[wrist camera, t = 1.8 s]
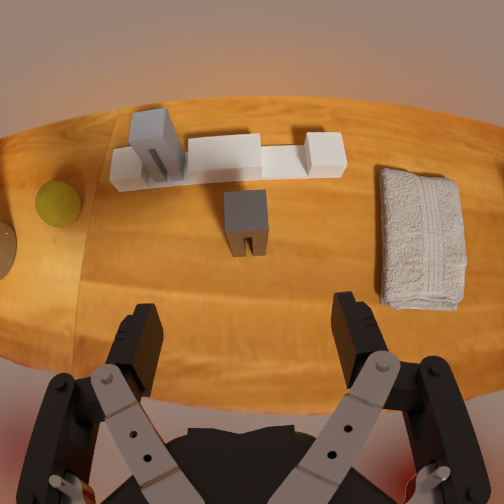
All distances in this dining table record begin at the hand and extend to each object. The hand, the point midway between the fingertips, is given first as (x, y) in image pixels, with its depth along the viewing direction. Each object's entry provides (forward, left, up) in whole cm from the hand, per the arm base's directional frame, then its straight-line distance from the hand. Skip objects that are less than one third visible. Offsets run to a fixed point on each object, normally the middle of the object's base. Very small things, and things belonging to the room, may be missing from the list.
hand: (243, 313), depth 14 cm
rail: (+13, +14, -21) cm, 28 cm away
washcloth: (+20, -11, -22) cm, 32 cm away
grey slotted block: (+7, +6, -21) cm, 23 cm away
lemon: (-4, +27, -21) cm, 34 cm away
